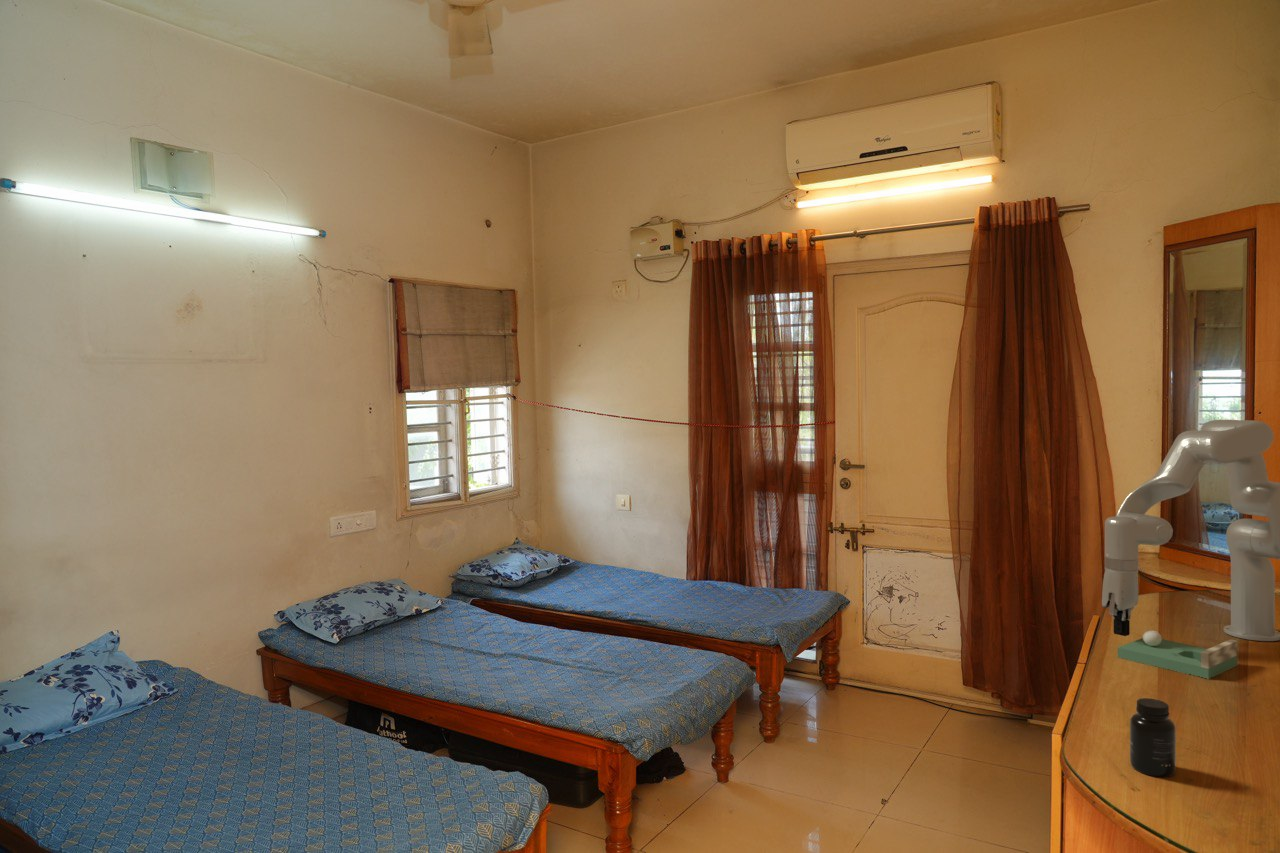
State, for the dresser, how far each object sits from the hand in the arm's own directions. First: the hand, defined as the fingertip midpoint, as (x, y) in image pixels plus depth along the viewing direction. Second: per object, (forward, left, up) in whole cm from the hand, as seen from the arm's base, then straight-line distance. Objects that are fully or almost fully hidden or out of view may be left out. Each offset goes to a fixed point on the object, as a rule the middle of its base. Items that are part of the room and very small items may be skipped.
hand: (1121, 634), depth 209 cm
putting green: (0, +13, -4) cm, 13 cm away
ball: (0, +7, +1) cm, 7 cm away
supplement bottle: (+66, +36, -4) cm, 75 cm away
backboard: (0, +22, -1) cm, 22 cm away
